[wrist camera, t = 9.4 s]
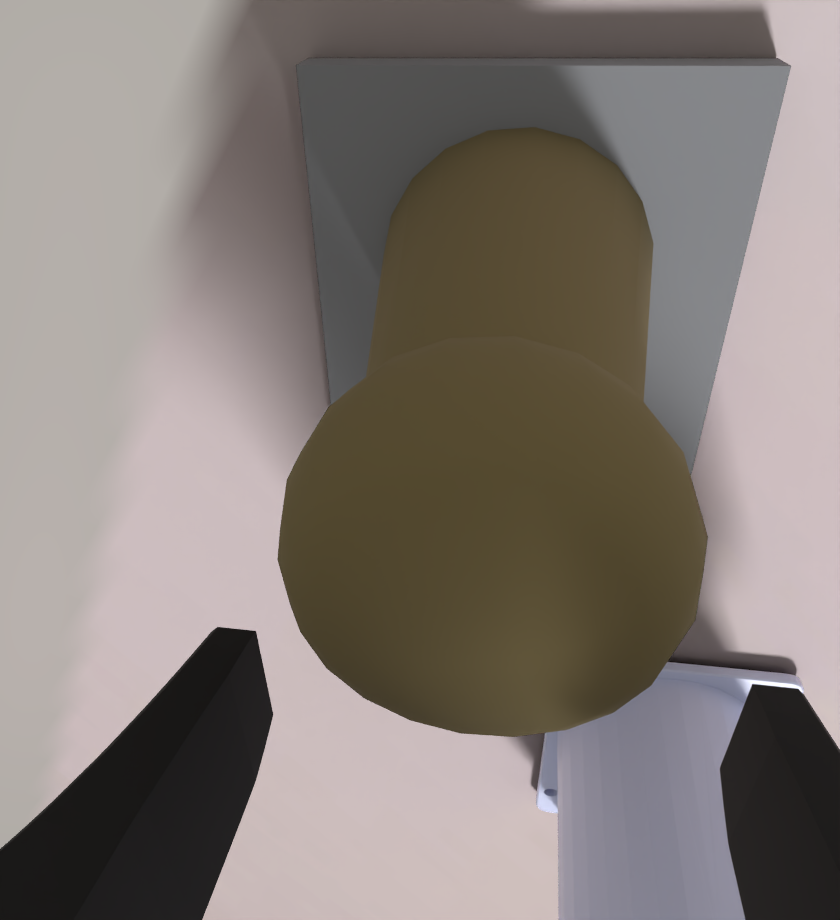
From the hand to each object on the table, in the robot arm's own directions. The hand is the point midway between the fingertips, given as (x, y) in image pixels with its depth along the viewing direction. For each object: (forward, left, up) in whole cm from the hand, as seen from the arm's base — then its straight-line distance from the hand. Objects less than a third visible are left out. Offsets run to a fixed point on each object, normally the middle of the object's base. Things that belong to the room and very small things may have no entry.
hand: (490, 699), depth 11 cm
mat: (+2, 0, -10) cm, 11 cm away
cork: (+3, 0, -10) cm, 10 cm away
